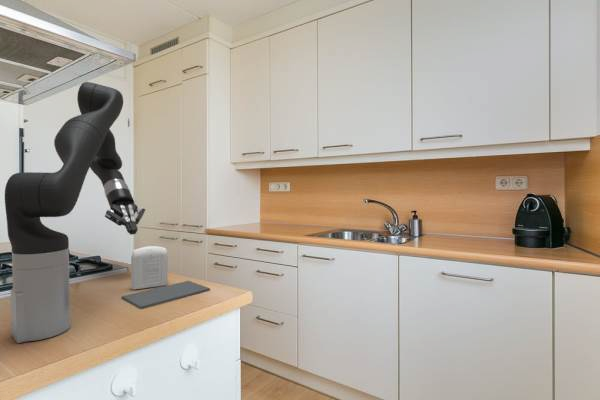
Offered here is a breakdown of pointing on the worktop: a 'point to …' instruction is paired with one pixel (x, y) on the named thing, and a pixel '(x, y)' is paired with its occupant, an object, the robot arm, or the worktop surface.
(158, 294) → the mat
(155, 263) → the photo printer
